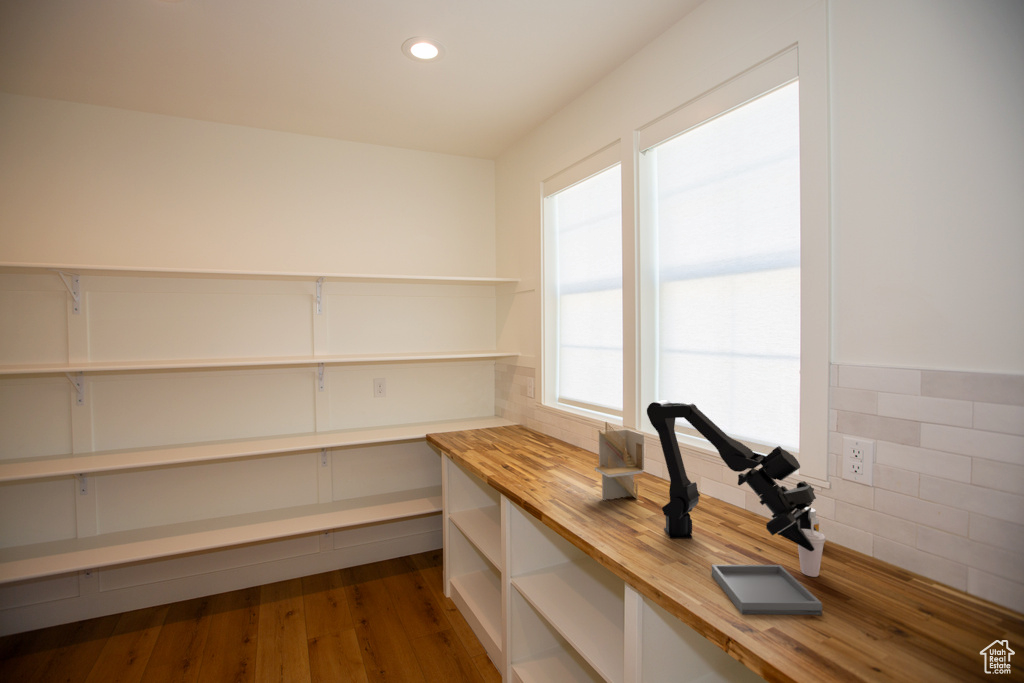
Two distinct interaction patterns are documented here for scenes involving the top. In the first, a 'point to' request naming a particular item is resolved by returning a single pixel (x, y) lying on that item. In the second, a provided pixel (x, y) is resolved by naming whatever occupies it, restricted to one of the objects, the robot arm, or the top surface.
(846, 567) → the top surface
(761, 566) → the tray
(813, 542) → the smoothie
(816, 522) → the supplement bottle
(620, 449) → the staircase
